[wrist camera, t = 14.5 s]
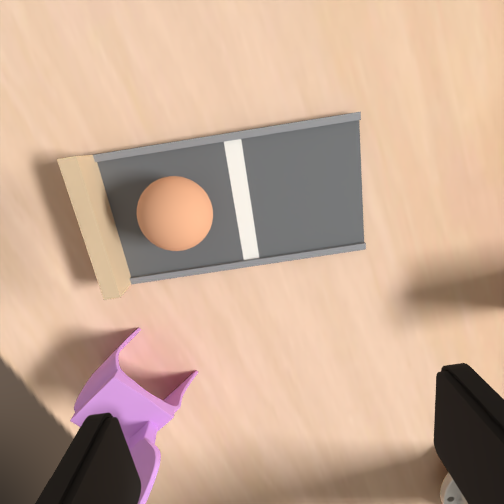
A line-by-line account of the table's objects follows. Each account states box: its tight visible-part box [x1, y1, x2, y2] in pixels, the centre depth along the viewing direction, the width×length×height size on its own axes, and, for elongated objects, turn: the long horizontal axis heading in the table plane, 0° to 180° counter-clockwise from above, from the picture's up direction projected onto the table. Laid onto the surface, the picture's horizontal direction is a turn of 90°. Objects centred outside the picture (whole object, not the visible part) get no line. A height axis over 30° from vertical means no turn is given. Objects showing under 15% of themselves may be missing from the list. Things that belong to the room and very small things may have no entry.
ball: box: [137, 176, 213, 251], centre depth 26 cm, size 6×6×6 cm
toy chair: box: [70, 328, 198, 504], centre depth 28 cm, size 8×9×15 cm
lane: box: [57, 112, 366, 300], centre depth 28 cm, size 24×12×4 cm, turn 99°
